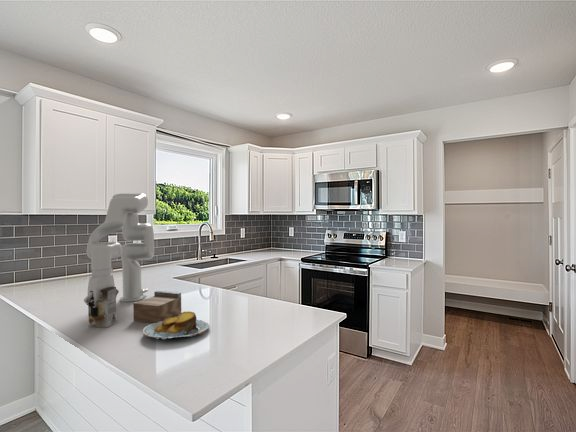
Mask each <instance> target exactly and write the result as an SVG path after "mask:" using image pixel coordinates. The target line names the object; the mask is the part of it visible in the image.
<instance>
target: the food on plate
mask: <svg viewBox="0 0 576 432" xmlns="http://www.w3.org/2000/svg"><path fill="white" fill-rule="evenodd" d="M209 328H210V324H209V323H208V322H206V321H205V320H200V319H197V315H196V313H195V312H193V311H189V310H188V311H182V312H181V314H180V315H178V316H175V317H171V318H168V319H165V320H164V321H160V322H158V323H153V324H152V323H149V324H148V325H146V326H144V327H143V329H142V333H143V336H145V337H149V338H151V337H152V338H155V339H156V340H159V339H161V340H167V339H172V338H182V337H184V338H185V337H193V336H196V335H200V336H201V335H202V334H204V333H205V332H206V331H207V330H208V329H209Z"/></svg>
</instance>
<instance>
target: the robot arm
mask: <svg viewBox="0 0 576 432" xmlns="http://www.w3.org/2000/svg"><path fill="white" fill-rule="evenodd" d="M148 203H149V200H148V196H147V195H146V194H145V193H124V192H123V193H116V194H114V195H113V196H112V197H111V199H110V201H109V204H108V208H107V211H106V214H105V215H106V216H105V218H104V219H105V220H104V222H103V223H101V224H100V225H99V226H98V227H96V228H95V229H94V230H93V231H92V232H91V234H90V235H89V238H88V242H87V244H86V250H85V251H86V252H85V253H86V256H87V258H89V259H90V261H91V262H90V263H91V264H90V265H91V268H90V269H91V277H89V279H88V283H87V296H86V297H85V298H84V299H83V302H84V303H85V304H86V305H87V306H89V307H91V316H92V317H97V316H98V308H97V307H96V306H97V303H98V301H99V300H100V294H101V290H103V289H106V288H110V287H116V286H115V279H114V274H113V273H112V272H113V271H114V269H113V267H112V259H118V258H119V257H120V259H121V267H122V270H121V271H122V272H121V273H122V296H121V297H119V302H122V303H130V302H132V303H133V302H139V301H141V300H144V299H146V298H145V297H146V296H145V295H144V293H148V292H149V291H148V290H149V289H148V288H144V289H143V288H142V285H143V284H142V267H141V266H142V265H141V264H140V263H139V261H143V260H151V259H153V258H154V256H155V235H154V228H153V226H152V225H151V223H140V220H139V213H141V212H143V211H144V210H145V209H146V208H147V206H148V205H149V204H148ZM119 230H122V231H121V233H122V239H124V241H128V242H129V243H124V244H123V245H122V244H121V243H120V242H116V241H112V242H110V241H106V242H105V241H104V242H103V241H101V240H102V239H103V238H104V237H106V236H108V235H110V234H113V233H115V232H118V231H119ZM100 241H101V242H100ZM132 241H133V242H132ZM134 241H135V242H134ZM137 241H138V242H137ZM139 241H140V242H139ZM141 241H143V242H141ZM119 293H120V292H119V289H117V288H116V298H117V296H118V294H119ZM92 296H93V297H94V299H93V297H92ZM91 297H92V300H91V302H90V299H91ZM94 301H95V302H94ZM93 303H94V304H93Z"/></svg>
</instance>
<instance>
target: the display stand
mask: <svg viewBox="0 0 576 432" xmlns="http://www.w3.org/2000/svg"><path fill="white" fill-rule="evenodd" d="M132 303H133V302H132ZM132 306H133V307H132V308H133V310H132V311H133V322H135V323H137V322H139V323H144V324H145V323H146V324H153V323H158V322H160V321H164V320H165V319H168V318H171V317H177V316H180V315H181V313H182V293H181V292H177V291H176V292H174V291H164V290H163V291H161V290H155V291H154V295H153V296H151V297H148V298H144V299H142V300H138V301H135V302H134V303H133V304H132Z"/></svg>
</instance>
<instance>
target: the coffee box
mask: <svg viewBox="0 0 576 432" xmlns="http://www.w3.org/2000/svg"><path fill="white" fill-rule="evenodd" d="M116 289H117V287H116V286H115V287H110V288H106V289H103V290H101V294H100V300H99V301H98V303H97V306H96V307H97V308H98V316H97V317H92V316H91V307H89V306H88V305H87V306H88V310H87V311H88V315H87V316H88V318H87V319H88V327H89V328H110V327H111V326H112V325H115V324H117V297H116ZM92 297H93V296H92ZM92 297H91V299H90V302H91V300H92ZM93 299H94V297H93ZM94 302H95V301H94ZM93 304H94V303H93Z"/></svg>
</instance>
